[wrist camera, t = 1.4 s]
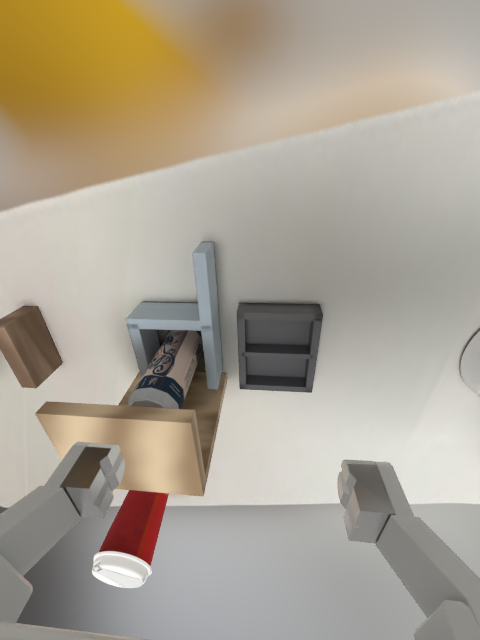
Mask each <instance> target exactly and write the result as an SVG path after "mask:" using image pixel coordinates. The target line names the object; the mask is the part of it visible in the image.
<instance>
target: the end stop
mask: <svg viewBox="0 0 480 640" xmlns="http://www.w3.org/2000/svg"><path fill="white" fill-rule="evenodd" d="M0 349H1V351H2V353H3V355H4V356H5V358H6V360H7V362H8V363H9V365H10V367H11V369H12V370H13V372H14V374H15V376H16V377H17V379H18V381H19V383H20V384H21V386H22V387H26V388H37V387H38V386H39V385H40V384H41V383H42V382H43V381H45V380H46V379H47V378H48V377H49V376H50V375H51V374H52V373H53V372H54V371H55V370H56V369H57V368H58V367H59V366H60V365H61V364H62V363H63V362H62V360H61V358H60V356H59V353H58V351H57V349H56V347H55V344H54V342H53V340H52V338H51V335H50V333H49V331H48V329H47V326H46V324H45V322H44V320H43V317H42V315H41V313H40V310H39V308H38V306H23V307H21V308H19V309H17V310H16V311H14V312H12V313H10V314H9V315H7V316H5V317H3V318H2V319H0Z"/></svg>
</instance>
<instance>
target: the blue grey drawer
mask: <svg viewBox="0 0 480 640" xmlns="http://www.w3.org/2000/svg"><path fill="white" fill-rule="evenodd" d="M192 255H193V264H194V272H195V281H196V290H197V299H198V303H152V302H141V303H140V304H139V305H138V306H137V307H136V308H135V309H134V310H133V312H132V313H131V314H130V315H129V316H128V317H127V318H126V322H127V326H128V330H129V333H130V337H131V341H132V345H133V348H134V352H135V356H136V359H137V363H138V367H139V370H140V374H141V378H142V376H143V374H144V373H145V371H146V369H147V368H148V366H149V364H150V363H151V361H152V359H153V358H154V356H155V354H156V353H157V351H158V349H159V348H160V343H159V338H158V334H157V329H158V330H194V331H201V333H202V342H203V351H204V359H205V368H206V377H207V385H208V389H218V386H219V382H220V378H221V374H222V369H223V363H222V350H221V336H220V323H219V309H218V296H217V283H216V269H215V256H214V242H202V243H201V244H200V245H199V246H198V247H197V248H196V249H195V251H194V252H193V253H192Z"/></svg>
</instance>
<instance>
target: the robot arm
mask: <svg viewBox="0 0 480 640" xmlns="http://www.w3.org/2000/svg"><path fill="white" fill-rule="evenodd" d="M460 370H461V376H462V378H463V380H464V382H465V384H466V385H467V386H468V387H469V388H470V389H471V390H473V391H474V392H476V393H477V394H478V395H480V331H479V332H478V333H477V334H476V335H475V336H474V337H473V339H472V340H471V341H470V343H469V344H468V346H467V347H466V349H465V351H464V353H463V356H462V359H461V365H460ZM120 451H121V449H120V447H119V445H118V444H104V443H92V442H78V441H77V442H76V443H75V444H74V445H73V446H72V447H71V448H70V450H69V451H68V453H67V454H66V455H65V457H64V458H63V460H62V461H61V463H60V464H59V465H58V467H57V468H56V470H55V471H54V473H53V474H52V475H51V477H50V478H49V480H48V481H47V483H46V484H45V485H44V486H39V487H38V488H36V489H35V490H34V491H32V492H31V493H29V494H28V495H27V496H25V497H24V498H22V499H21V500H20V501H18V502H17V503H15V504H14V505H13V506H11V507H10V508H8V509H7V510H6V511H4V512H3V513H1V514H0V640H145V639H138V638H130V637H122V636H114V635H106V634H98V633H89V632H82V631H74V630H66V629H59V628H50V627H43V626H35V625H27V624H19V623H16V621H17V619H18V617H19V616H20V614H21V612H22V610H23V608H24V606H25V604H26V603H27V601H28V599H29V597H30V595H31V593H32V591H33V589H32V585H31V584H30V583H29V582H28V581H27V580H26V579H25V578H24V577H23V576H24V575H25V574H26V573H27V571H29V570H30V569H31V568H32V567H33V566H34V565H35V563H37V562H38V560H40V559H41V558H42V557H43V556H44V555H45V554H46V553H47V552H48V550H50V548H52V547H53V546H54V545H55V544H56V543H57V542H58V541H59V540H60V539H61V538H62V537H63V536H64V535H65V534H66V533H67V532H68V530H69V529H71V528H72V527H73V526H74V524H76V523H77V522H78V521H79V520H80V517H95V518H104V517H105V515H106V513H107V511H108V509H109V507H110V504H111V502H112V500H113V498H114V497H113V490H114V489H115V488H116V487H118V486H119V485H120V483H121V480H122V478H123V475H124V471H125V460H124V458H123V457H122V456H121V455H119V453H120ZM341 467H342V472H340V473H339V475H338V494H339V499H340V503H341V504H342V505H343V506H344V508H345V509H346V511H345V514H344V521H345V526H346V530H347V535H348V539H349V540H351V541H360V542H368V543H375V544H376V546H377V548H378V549H379V550H380V552H381V553H382V555H383V556H384V558H385V559H386V560H387V562H388V563H389V565H390V566H391V567H392V569H393V570H394V572H395V573H396V574H397V576H398V577H399V579H400V580H401V581H402V583H403V584H404V586H405V587H406V589H407V590H408V591H409V593H410V594H411V596H412V597H413V598H414V600H415V601H416V603H417V604H418V605H419V607H420V608H421V610H422V611H423V612H424V614H425V615H426V617H427V619H426V620H425V621H424V622H423V623H422V624H421V625H420V626H419V627H418V628H417V629H416V631H415V633H414V637H415V640H480V578H479V577H478V576H477V575H476V574H475V573H474V572H473V571H472V570H471V569H470V568H469V567H468V566H467V565H466V564H465V563H464V562H463V561H462V560H461V559H460V558H459V557H458V556H457V555H456V554H455V553H454V552H453V551H452V550H451V549H450V548H449V547H448V546H447V545H446V544H445V543H444V542H443V541H442V540H441V539H440V538H439V537H438V536H437V535H436V534H435V533H434V532H433V531H432V530H431V529H430V528H429V527H428V526H427V525H426V524H425V523H424V522H423V521H422V520H421V518H419V517H414V515H413V513H412V510H411V508H410V506H409V503H408V501H407V499H406V496H405V494H404V492H403V489H402V487H401V485H400V482H399V480H398V478H397V475H396V473H395V471H394V468H393V466H392V465H391V464H390V463H388V462H373V461H362V460H343V461H342V464H341Z"/></svg>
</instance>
